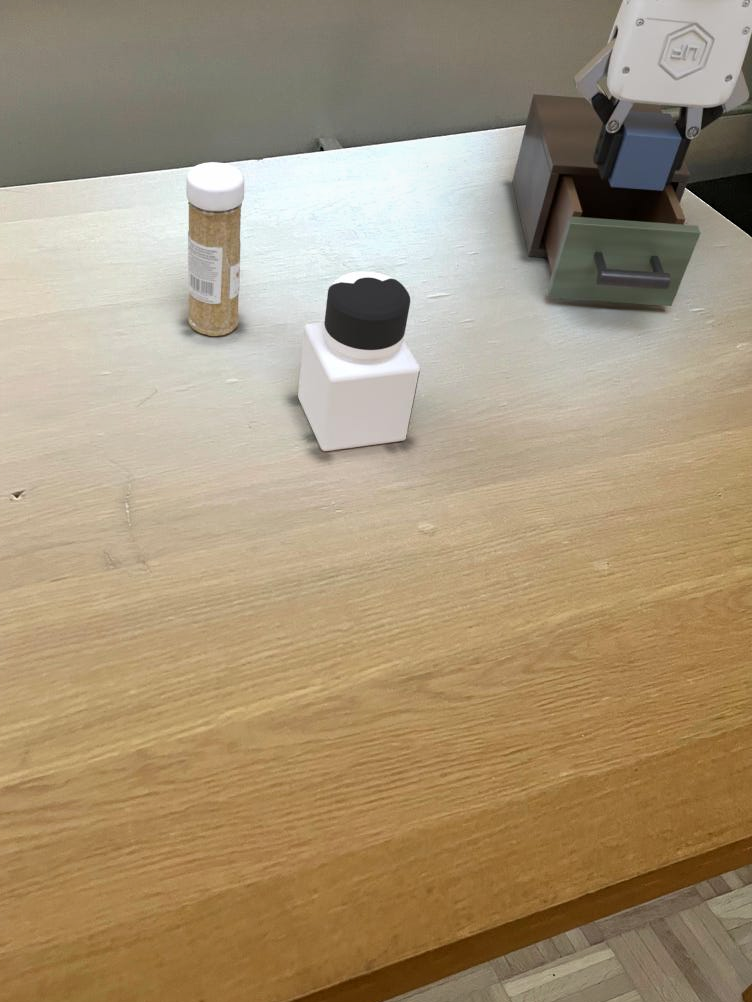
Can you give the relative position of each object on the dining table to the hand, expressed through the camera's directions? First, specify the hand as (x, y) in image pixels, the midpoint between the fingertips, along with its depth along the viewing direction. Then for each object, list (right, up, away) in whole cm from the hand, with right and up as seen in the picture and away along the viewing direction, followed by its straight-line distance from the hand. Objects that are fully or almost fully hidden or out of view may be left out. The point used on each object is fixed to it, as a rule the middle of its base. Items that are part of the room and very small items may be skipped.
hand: (633, 172), depth 93 cm
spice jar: (-37, -13, 0) cm, 39 cm away
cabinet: (0, +1, +15) cm, 15 cm away
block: (0, 0, 0) cm, 0 cm away
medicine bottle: (-25, -23, -7) cm, 35 cm away
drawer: (-1, -7, +7) cm, 10 cm away
